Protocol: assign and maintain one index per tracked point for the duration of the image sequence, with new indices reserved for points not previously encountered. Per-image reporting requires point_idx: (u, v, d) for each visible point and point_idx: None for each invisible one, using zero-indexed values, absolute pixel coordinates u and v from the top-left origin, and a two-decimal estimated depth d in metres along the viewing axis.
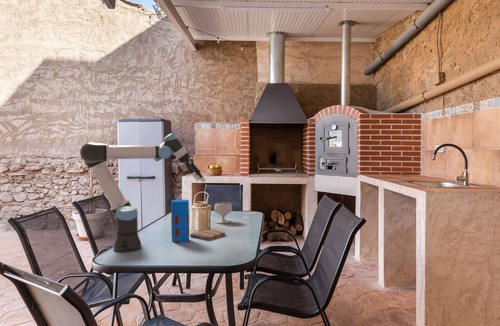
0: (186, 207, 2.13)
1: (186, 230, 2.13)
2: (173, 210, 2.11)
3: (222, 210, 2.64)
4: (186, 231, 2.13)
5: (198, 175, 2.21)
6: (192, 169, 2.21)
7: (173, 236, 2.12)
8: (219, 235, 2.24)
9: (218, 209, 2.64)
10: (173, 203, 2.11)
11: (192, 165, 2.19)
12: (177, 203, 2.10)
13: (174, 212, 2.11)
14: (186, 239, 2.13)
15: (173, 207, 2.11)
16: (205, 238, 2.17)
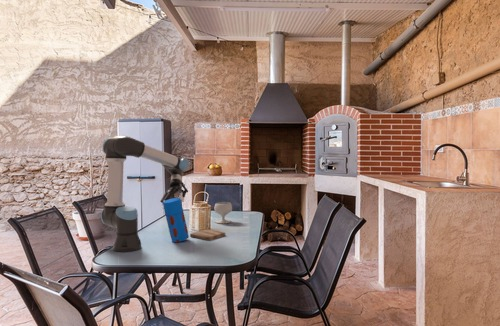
0: (179, 206, 2.10)
1: (183, 228, 2.12)
2: (166, 211, 2.09)
3: (222, 210, 2.64)
4: (184, 229, 2.12)
5: (182, 193, 2.21)
6: None
7: (172, 236, 2.12)
8: (219, 235, 2.24)
9: (218, 209, 2.64)
10: (165, 204, 2.09)
11: (184, 186, 2.27)
12: (169, 204, 2.08)
13: (168, 213, 2.09)
14: (185, 237, 2.13)
15: (166, 208, 2.09)
16: (205, 238, 2.17)
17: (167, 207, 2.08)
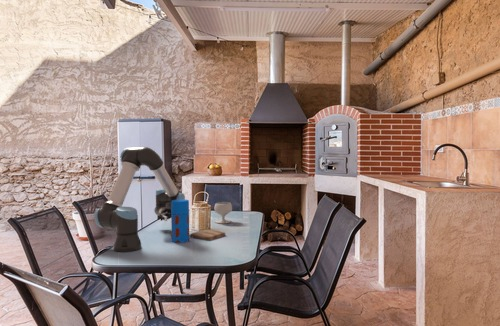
0: (186, 207, 2.13)
1: (186, 230, 2.13)
2: (173, 210, 2.11)
3: (222, 210, 2.64)
4: (186, 231, 2.13)
5: None
6: None
7: (173, 236, 2.12)
8: (219, 235, 2.24)
9: (218, 209, 2.64)
10: (173, 203, 2.11)
11: None
12: (177, 203, 2.10)
13: (174, 212, 2.11)
14: (186, 239, 2.13)
15: (173, 207, 2.11)
16: (205, 238, 2.17)
17: (175, 206, 2.11)
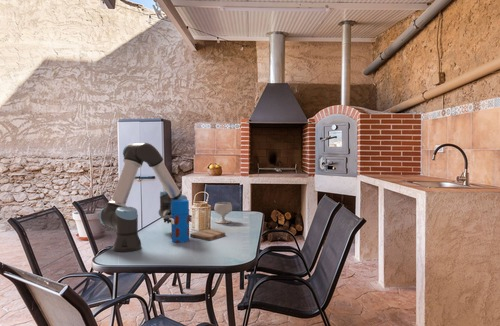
0: (186, 207, 2.13)
1: (186, 230, 2.13)
2: (173, 210, 2.11)
3: (222, 210, 2.64)
4: (186, 231, 2.13)
5: None
6: None
7: (173, 236, 2.12)
8: (219, 235, 2.24)
9: (218, 209, 2.64)
10: (173, 203, 2.11)
11: None
12: (177, 203, 2.10)
13: (174, 212, 2.11)
14: (186, 239, 2.13)
15: (173, 207, 2.11)
16: (205, 238, 2.17)
17: (175, 206, 2.10)
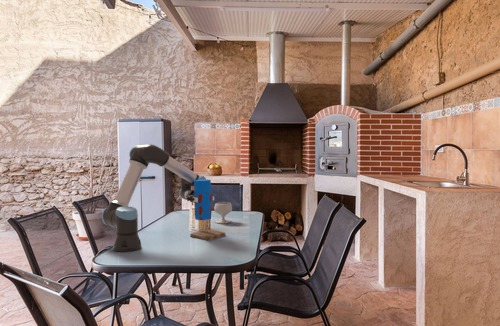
0: (209, 186, 2.21)
1: (209, 208, 2.22)
2: (196, 189, 2.20)
3: (222, 210, 2.64)
4: (209, 209, 2.22)
5: None
6: None
7: (196, 214, 2.21)
8: (219, 235, 2.24)
9: (218, 209, 2.64)
10: (196, 182, 2.20)
11: None
12: (200, 182, 2.19)
13: (197, 191, 2.20)
14: (209, 217, 2.22)
15: (196, 186, 2.20)
16: (205, 238, 2.17)
17: (198, 185, 2.19)
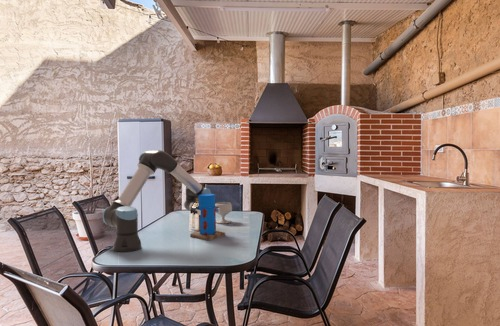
0: (213, 201, 2.23)
1: (213, 223, 2.23)
2: (201, 204, 2.22)
3: (222, 210, 2.64)
4: (213, 224, 2.23)
5: (216, 208, 2.32)
6: None
7: (201, 229, 2.23)
8: (219, 235, 2.24)
9: None
10: (201, 197, 2.22)
11: None
12: (205, 197, 2.21)
13: (202, 206, 2.21)
14: (213, 231, 2.24)
15: (201, 201, 2.22)
16: (205, 238, 2.17)
17: (202, 200, 2.21)
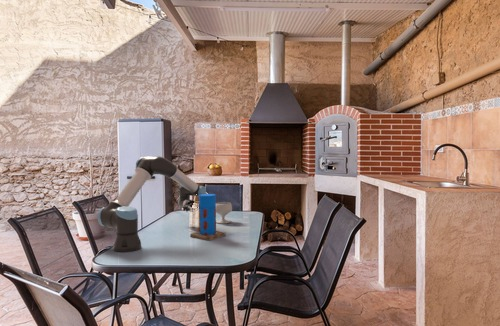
0: (213, 201, 2.23)
1: (213, 223, 2.23)
2: (201, 204, 2.22)
3: (222, 210, 2.64)
4: (213, 224, 2.23)
5: None
6: None
7: (201, 229, 2.22)
8: (219, 235, 2.24)
9: (218, 209, 2.64)
10: (201, 197, 2.21)
11: None
12: (205, 197, 2.20)
13: (202, 206, 2.21)
14: (213, 231, 2.24)
15: (201, 201, 2.21)
16: (205, 238, 2.17)
17: (203, 200, 2.21)
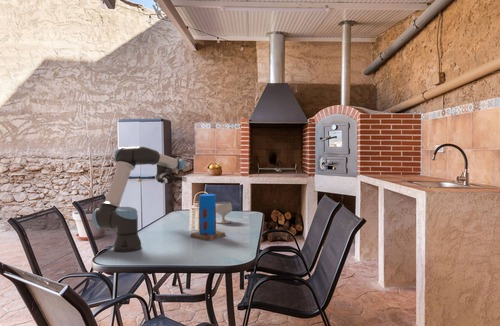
0: (213, 201, 2.23)
1: (213, 223, 2.23)
2: (201, 204, 2.22)
3: (222, 210, 2.64)
4: (213, 224, 2.23)
5: (183, 178, 2.42)
6: (178, 177, 2.45)
7: (201, 229, 2.23)
8: (219, 235, 2.24)
9: (218, 209, 2.64)
10: (201, 197, 2.22)
11: None
12: (205, 197, 2.21)
13: (202, 206, 2.21)
14: (213, 231, 2.24)
15: (201, 201, 2.22)
16: (205, 238, 2.17)
17: (203, 200, 2.21)
